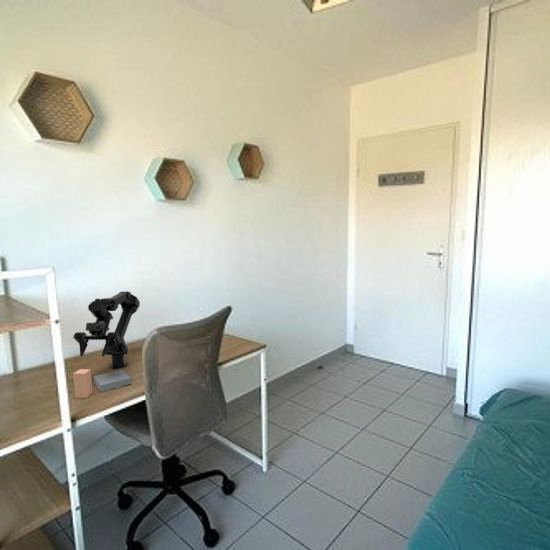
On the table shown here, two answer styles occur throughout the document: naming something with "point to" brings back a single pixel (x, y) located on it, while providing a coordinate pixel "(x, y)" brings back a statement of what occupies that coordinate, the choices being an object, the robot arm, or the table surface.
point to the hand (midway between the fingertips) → (91, 356)
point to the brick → (82, 383)
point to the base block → (111, 380)
